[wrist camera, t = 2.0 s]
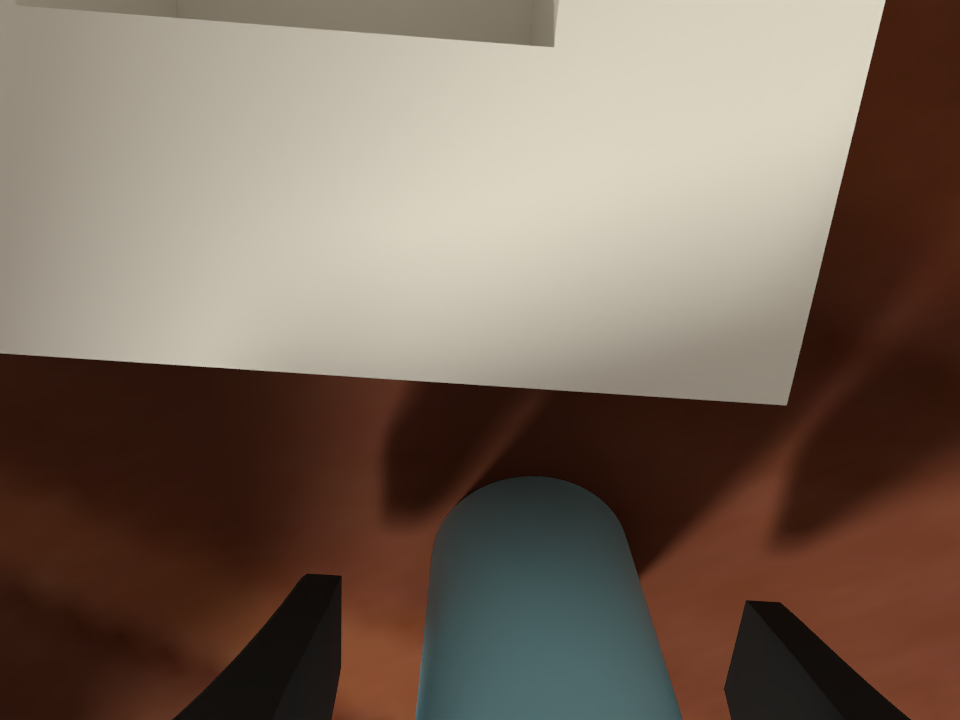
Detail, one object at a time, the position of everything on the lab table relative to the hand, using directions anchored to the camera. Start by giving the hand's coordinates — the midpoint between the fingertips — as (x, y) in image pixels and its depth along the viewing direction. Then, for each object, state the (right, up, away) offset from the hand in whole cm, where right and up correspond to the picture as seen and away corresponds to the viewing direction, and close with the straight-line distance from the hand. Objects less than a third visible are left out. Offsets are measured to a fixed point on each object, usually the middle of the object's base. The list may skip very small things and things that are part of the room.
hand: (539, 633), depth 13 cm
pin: (0, +1, +2) cm, 2 cm away
